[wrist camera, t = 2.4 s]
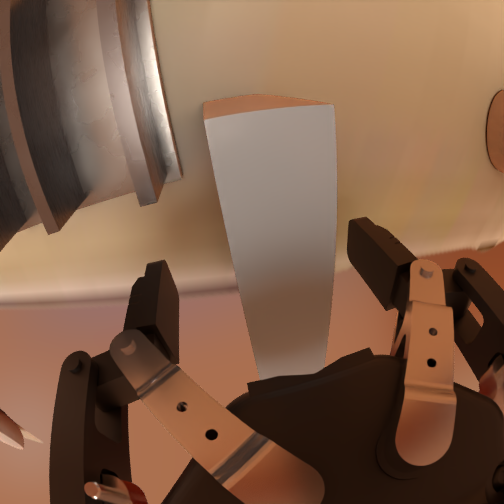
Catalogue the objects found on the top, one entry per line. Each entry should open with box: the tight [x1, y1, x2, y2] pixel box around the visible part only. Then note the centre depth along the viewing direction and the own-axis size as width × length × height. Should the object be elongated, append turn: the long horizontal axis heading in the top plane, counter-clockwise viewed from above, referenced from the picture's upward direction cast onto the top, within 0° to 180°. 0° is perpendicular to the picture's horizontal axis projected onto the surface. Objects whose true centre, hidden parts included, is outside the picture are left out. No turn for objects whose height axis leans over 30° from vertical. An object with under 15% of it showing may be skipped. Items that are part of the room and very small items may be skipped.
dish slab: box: [203, 94, 337, 380], centre depth 13 cm, size 3×12×10 cm, turn 8°
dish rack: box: [0, 0, 183, 251], centre depth 9 cm, size 13×16×5 cm
